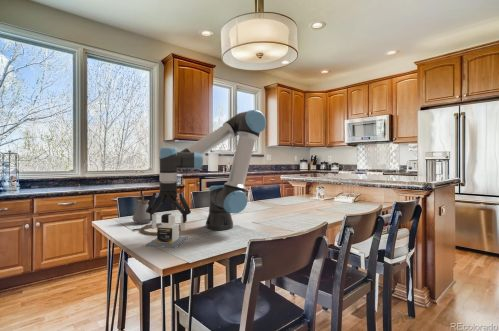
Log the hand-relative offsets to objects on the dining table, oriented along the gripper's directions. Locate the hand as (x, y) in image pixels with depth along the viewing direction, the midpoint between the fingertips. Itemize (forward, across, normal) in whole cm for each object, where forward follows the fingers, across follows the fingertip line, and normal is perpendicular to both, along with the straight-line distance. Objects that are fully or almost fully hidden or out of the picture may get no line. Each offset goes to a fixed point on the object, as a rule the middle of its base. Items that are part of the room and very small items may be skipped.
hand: (168, 229), depth 126 cm
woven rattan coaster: (+6, +12, -19) cm, 23 cm away
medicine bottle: (+6, 0, 0) cm, 6 cm away
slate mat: (+6, 0, 0) cm, 6 cm away
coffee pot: (+6, +32, -36) cm, 49 cm away
